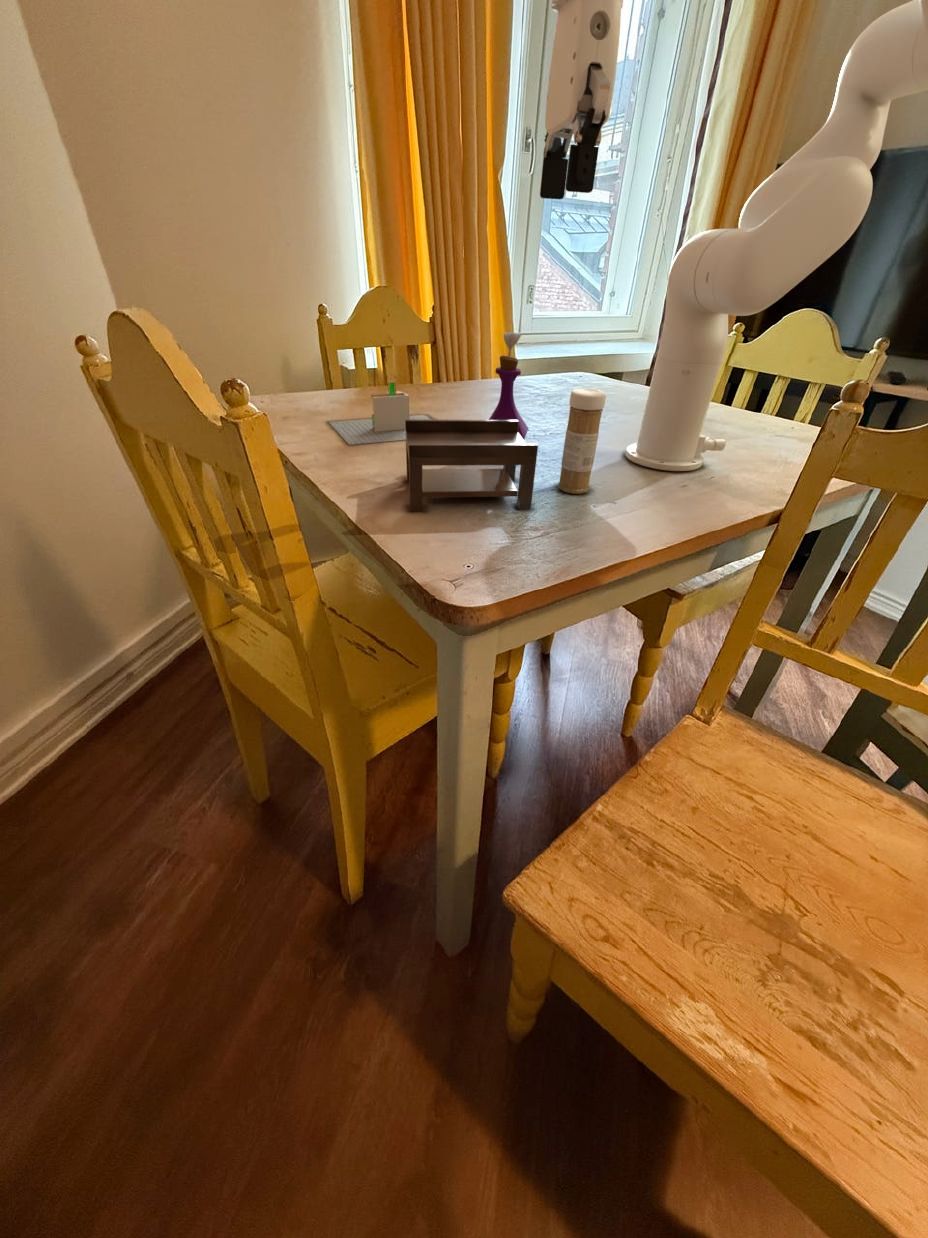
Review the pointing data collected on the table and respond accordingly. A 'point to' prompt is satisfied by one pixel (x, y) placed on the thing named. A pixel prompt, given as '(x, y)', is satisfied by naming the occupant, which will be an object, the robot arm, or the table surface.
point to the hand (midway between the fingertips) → (564, 195)
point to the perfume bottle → (509, 386)
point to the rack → (468, 460)
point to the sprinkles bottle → (581, 439)
